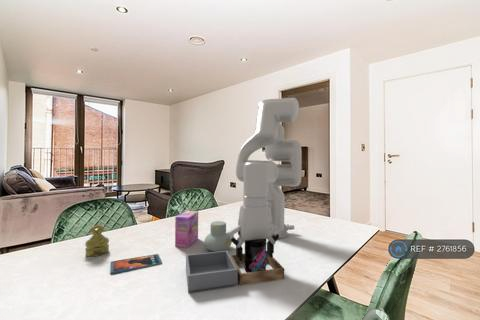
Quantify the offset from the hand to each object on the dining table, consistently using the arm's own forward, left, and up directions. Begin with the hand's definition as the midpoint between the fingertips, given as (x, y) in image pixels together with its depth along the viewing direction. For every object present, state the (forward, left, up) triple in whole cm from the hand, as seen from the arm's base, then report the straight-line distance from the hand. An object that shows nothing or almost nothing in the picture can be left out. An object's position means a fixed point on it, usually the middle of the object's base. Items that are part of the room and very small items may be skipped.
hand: (255, 257), depth 73 cm
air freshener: (+8, -20, -5) cm, 22 cm away
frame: (0, 0, -4) cm, 4 cm away
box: (+19, -30, -5) cm, 36 cm away
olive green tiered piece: (+51, -28, -5) cm, 58 cm away
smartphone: (+36, -15, -5) cm, 39 cm away
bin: (+14, 0, -4) cm, 14 cm away
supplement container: (0, 0, -5) cm, 5 cm away
